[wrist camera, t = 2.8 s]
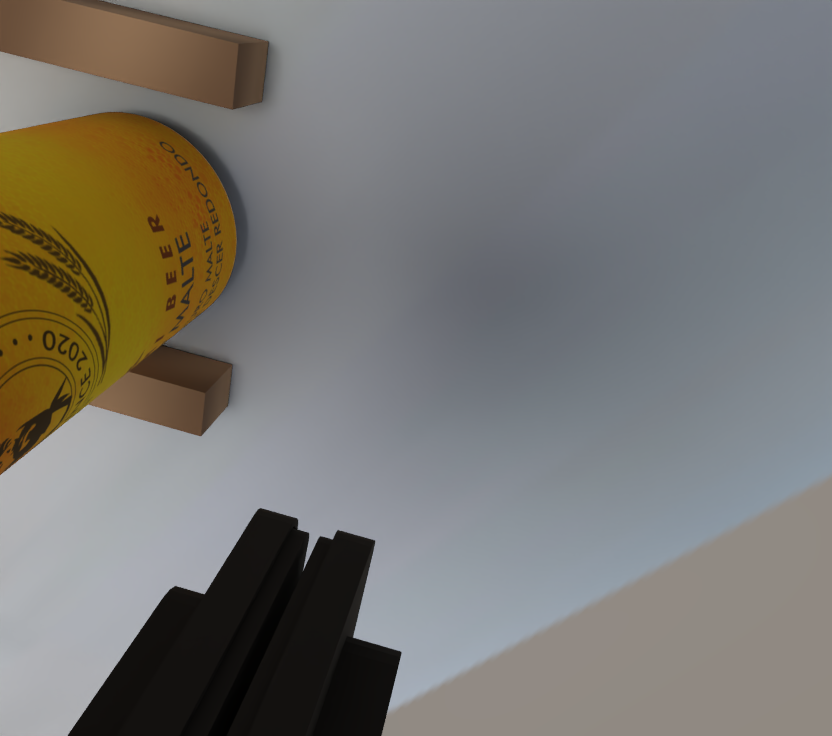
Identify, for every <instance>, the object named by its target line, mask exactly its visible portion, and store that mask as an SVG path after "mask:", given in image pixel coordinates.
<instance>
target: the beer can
mask: <svg viewBox="0 0 832 736" xmlns="http://www.w3.org/2000/svg"><path fill="white" fill-rule="evenodd" d="M236 246H237V236H236V225H235V219H234V214H233V211H232V207H231V203H230V201H229V198H228V196H227V193H226V191H225V189H224V187H223V185H222V183H221V181H220V179H219V177H218V176H217V174H216V173H215V171H214V169H213V168H212V166H211V165H210V164H209V163H208V161H207V160H206V159H205V158H204V156H203V155H202V154H201V153H200V152H199V151H198V150H197V149H196V148H195V147H194V146H193V145H192V144H191V143H190V142H188V141H187V140H186V139H185V138H184V137H182V136H181V135H180V134H178V133H177V132H175V131H174V130H172V129H171V128H169V127H167V126H165V125H163V124H161V123H159V122H157V121H154V120H152V119H149V118H147V117H143V116H140V115H136V114H131V113H123V112H106V113H98V114H93V115H88V116H83V117H78V118H73V119H68V120H63V121H58V122H53V123H48V124H43V125H38V126H33V127H28V128H23V129H18V130H13V131H8V132H3V133H0V475H1V474H2V473H3V472H5V471H6V470H7V469H8V468H10V467H11V466H12V465H13V464H15V463H16V462H17V461H18V460H19V459H21V458H22V457H23V456H24V455H26V454H27V453H28V452H29V451H31V450H32V449H33V448H34V447H36V446H37V445H38V444H39V443H41V442H42V441H43V440H44V439H46V438H47V437H48V436H49V435H51V434H52V433H53V432H54V431H55V430H57V429H58V428H59V427H60V426H62V425H63V424H64V423H65V422H67V421H68V420H69V419H70V418H72V417H73V416H74V415H75V414H77V413H78V412H79V411H80V410H82V409H83V408H84V407H85V406H87V405H88V404H89V403H90V402H92V401H93V400H94V399H95V398H96V397H98V396H99V395H100V394H101V393H103V392H104V391H105V390H106V389H108V388H109V387H110V386H111V385H113V384H114V383H115V382H116V381H118V380H119V379H120V378H121V377H123V376H124V375H125V374H126V373H128V372H129V371H130V370H131V369H132V368H134V367H135V366H136V365H137V364H139V363H140V362H141V361H142V360H144V359H145V358H146V357H147V356H149V355H150V354H151V353H152V352H154V351H155V350H156V349H157V348H159V347H160V346H161V345H162V344H164V343H165V342H166V341H167V340H169V339H170V338H171V337H172V336H173V335H175V334H176V333H177V332H178V331H180V330H181V329H182V328H183V327H185V326H186V325H187V324H188V323H190V322H191V321H192V320H193V319H195V318H196V317H197V316H198V315H200V314H201V313H202V312H203V311H205V310H206V309H207V308H208V307H209V306H210V305H211V304H213V303H214V301H215V300H216V299H217V298H218V297H219V296H220V294H221V293H222V291H223V290H224V288H225V286H226V284H227V282H228V280H229V278H230V276H231V273H232V270H233V266H234V262H235V256H236Z"/></svg>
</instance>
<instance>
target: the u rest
mask: <svg viewBox="0 0 832 736" xmlns="http://www.w3.org/2000/svg"><path fill="white" fill-rule="evenodd" d="M0 51H1V52H5V53H9V54H13V55H17V56H21V57H25V58H29V59H33V60H37V61H41V62H45V63H49V64H53V65H57V66H61V67H65V68H69V69H73V70H77V71H81V72H85V73H89V74H93V75H97V76H101V77H105V78H109V79H113V80H117V81H121V82H125V83H129V84H133V85H137V86H141V87H145V88H149V89H153V90H156V91H160V92H164V93H168V94H172V95H176V96H180V97H184V98H188V99H192V100H196V101H200V102H204V103H208V104H212V105H216V106H220V107H224V108H228V109H236V108H240V107H244V106H247V105H251V104H255V103H259V102H262V96H263V87H264V78H265V69H266V60H267V51H268V41H264V40H260V39H256V38H252V37H247V36H243V35H239V34H235V33H231V32H227V31H223V30H219V29H215V28H211V27H206V26H202V25H198V24H194V23H190V22H186V21H182V20H178V19H174V18H170V17H165V16H161V15H157V14H153V13H149V12H145V11H141V10H137V9H133V8H129V7H124V6H120V5H116V4H112V3H108V2H104V1H100V0H0ZM231 373H232V365H231V364H227V363H224V362H220V361H216V360H213V359H209V358H205V357H202V356H198V355H194V354H191V353H187V352H184V351H180V350H176V349H173V348H169V347H165V346H162V345H161V346H160V347H159V348H157V349H156V350H155V351H154V352H152V353H151V354H150V355H149V356H147V357H146V358H145V359H144V360H142V361H141V362H140V363H139V364H137V365H136V366H135V367H134V368H132V369H131V370H130V371H129V372H128V373H126V374H125V375H124V376H123V377H121V378H120V379H119V380H118V381H116V382H115V383H114V384H113V385H111V386H110V387H109V388H108V389H106V390H105V391H104V392H103V393H101V394H100V395H99V396H98V397H96V398H95V399H94V400H93V401H92V402H90V403H89V405H92V406H96V407H99V408H103V409H106V410H110V411H113V412H117V413H120V414H124V415H127V416H131V417H134V418H138V419H141V420H145V421H149V422H152V423H156V424H159V425H163V426H166V427H170V428H173V429H177V430H180V431H184V432H187V433H191V434H194V435H198V436H202V435H203V434H204V432H205V431H206V430H207V429H208V428H209V427H210V426H211V424H212V423H213V422H214V421H215V420H216V419H217V418H218V416H219V415H220V414H221V413H222V412H223V411H224V410H225V408H226V407H227V406H228V399H229V390H230V382H231Z"/></svg>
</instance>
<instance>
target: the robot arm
mask: <svg viewBox="0 0 832 736" xmlns="http://www.w3.org/2000/svg"><path fill="white" fill-rule="evenodd" d="M297 529H298V519H297V518H293V517H290V516H286V515H283V514H279V513H276V512H272V511H269V510H265V509H262V508H260V509H258V510H257V512H256V513H255V514H254V516H253V518H252V519H251V521H250V522H249V524H248V526H247V527H246V529H245V530H244V532H243V534H242V535H241V537H240V539H239V540H238V542H237V543H236V545H235V547H234V548H233V550H232V551H231V553H230V555H229V556H228V558H227V559H226V561H225V563H224V564H223V566H222V567H221V569H220V571H219V572H218V574H217V575H216V577H215V579H214V580H213V582H212V583H211V585H210V587H209V588H208V590H207V592H206V593H205V594H201V593H198V592H194V591H191V590H187V589H184V588H181V587H177V586H175V587H173V588H172V589H170V590H169V591H168V592H167V594H166V595H165V596H164V597H163V599H162V600H161V602H160V603H159V604H158V606H157V607H156V609H155V610H154V612H153V613H152V614H151V616H150V617H149V619H148V620H147V622H146V623H145V625H144V626H143V627H142V629H141V630H140V632H139V633H138V635H137V636H136V638H135V639H134V640H133V642H132V643H131V645H130V646H129V648H128V649H127V651H126V652H125V653H124V655H123V656H122V658H121V659H120V661H119V662H118V664H117V665H116V666H115V668H114V669H113V671H112V672H111V674H110V675H109V677H108V678H107V679H106V681H105V682H104V684H103V685H102V687H101V688H100V690H99V691H98V692H97V694H96V695H95V697H94V698H93V700H92V701H91V703H90V704H89V705H88V707H87V708H86V710H85V711H84V713H83V714H82V716H81V717H80V718H79V720H78V721H77V723H76V724H75V726H74V727H73V729H72V730H71V731H70V733H69V734H68V736H381V735H382V730H383V727H384V723H385V719H386V715H387V710H388V706H389V702H390V698H391V694H392V690H393V686H394V682H395V678H396V674H397V670H398V665H399V661H400V657H401V652H400V651H397V650H393V649H390V648H386V647H383V646H380V645H376V644H373V643H369V642H366V641H362V640H359V639H356V638H353V635H354V630H355V626H356V622H357V618H358V614H359V609H360V605H361V601H362V597H363V592H364V588H365V584H366V580H367V576H368V571H369V567H370V563H371V559H372V554H373V550H374V546H375V540H371V539H368V538H364V537H361V536H357V535H354V534H350V533H347V532H343V531H339V530H338V531H337V532H336V534H335V536H334V538H333V540H332V539H329V538H325V537H322V536H320V537H319V539H318V541H317V543H316V545H315V547H314V549H313V551H312V553H311V556H310V558H309V560H308V562H307V564H306V566H305V568H304V562H305V557H306V552H307V547H308V541H309V533H307V532H304V531H300V530H297ZM303 568H304V571H303Z"/></svg>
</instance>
